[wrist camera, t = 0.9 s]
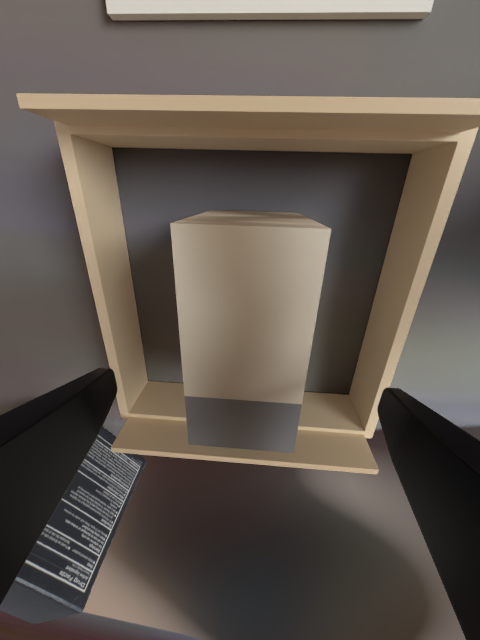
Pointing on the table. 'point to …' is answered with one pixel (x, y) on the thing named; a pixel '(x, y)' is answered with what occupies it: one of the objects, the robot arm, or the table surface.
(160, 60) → the table surface
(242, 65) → the table surface
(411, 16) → the white square tile
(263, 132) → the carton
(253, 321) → the block
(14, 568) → the robot arm
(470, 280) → the table surface
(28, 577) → the small box
